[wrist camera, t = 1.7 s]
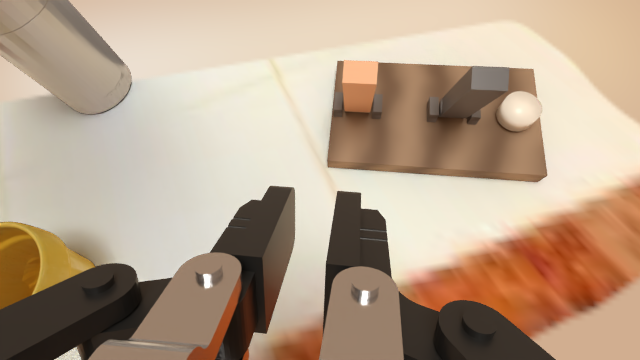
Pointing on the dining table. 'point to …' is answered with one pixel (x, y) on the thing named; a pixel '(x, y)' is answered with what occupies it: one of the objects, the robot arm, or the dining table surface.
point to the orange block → (359, 85)
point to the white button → (519, 111)
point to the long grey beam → (474, 91)
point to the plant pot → (33, 261)
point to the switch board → (433, 128)
